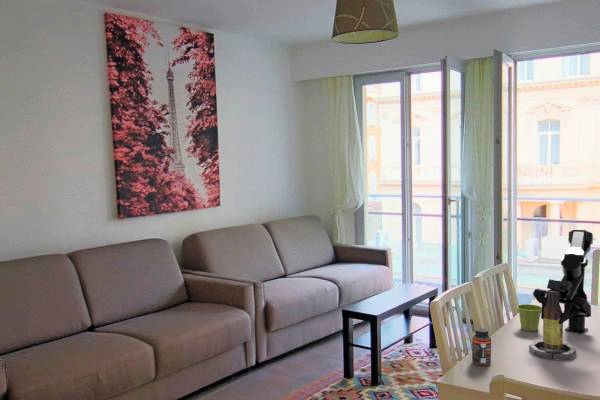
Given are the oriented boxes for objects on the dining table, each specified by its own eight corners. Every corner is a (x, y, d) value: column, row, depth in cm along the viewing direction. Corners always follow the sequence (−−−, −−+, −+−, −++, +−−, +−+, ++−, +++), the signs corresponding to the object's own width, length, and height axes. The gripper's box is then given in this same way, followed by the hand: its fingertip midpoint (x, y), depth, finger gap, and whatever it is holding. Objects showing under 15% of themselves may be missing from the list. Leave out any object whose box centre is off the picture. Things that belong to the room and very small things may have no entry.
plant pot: (512, 329, 226) (512, 307, 225) (522, 323, 233) (523, 302, 232) (536, 334, 220) (536, 312, 219) (546, 328, 226) (546, 306, 226)
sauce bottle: (564, 351, 197) (566, 294, 194) (544, 350, 198) (546, 293, 196) (559, 344, 203) (561, 288, 201) (540, 343, 204) (542, 288, 202)
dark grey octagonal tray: (540, 343, 210) (540, 337, 210) (581, 352, 200) (581, 346, 200) (523, 353, 200) (523, 347, 200) (565, 363, 190) (565, 356, 190)
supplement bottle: (488, 367, 188) (488, 333, 187) (469, 364, 191) (470, 330, 190) (492, 361, 193) (493, 328, 192) (474, 358, 196) (475, 326, 195)
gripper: (536, 266, 208) (516, 302, 202) (586, 275, 192) (567, 314, 187) (548, 284, 213) (530, 319, 208) (598, 294, 197) (580, 332, 192)
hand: (550, 321), depth 199 cm, fingers closed on sauce bottle, 6 cm apart
